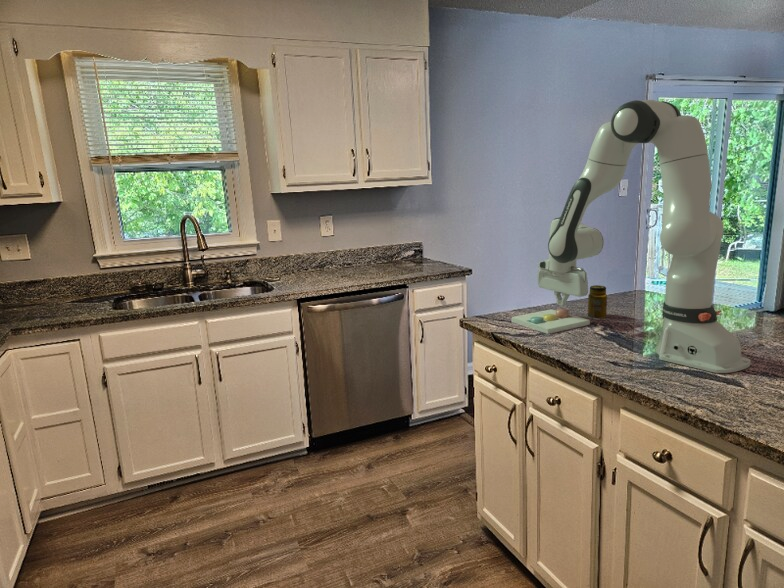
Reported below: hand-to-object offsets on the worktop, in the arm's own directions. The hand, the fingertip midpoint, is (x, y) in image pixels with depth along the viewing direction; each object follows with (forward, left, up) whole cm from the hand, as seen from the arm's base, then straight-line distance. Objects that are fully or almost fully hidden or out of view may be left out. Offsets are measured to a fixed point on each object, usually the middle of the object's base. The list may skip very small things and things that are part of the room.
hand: (561, 304), depth 175 cm
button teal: (0, +11, -7) cm, 13 cm away
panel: (0, +5, -7) cm, 9 cm away
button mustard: (0, +5, -7) cm, 8 cm away
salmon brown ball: (0, 0, -6) cm, 6 cm away
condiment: (-3, -13, -7) cm, 15 cm away
